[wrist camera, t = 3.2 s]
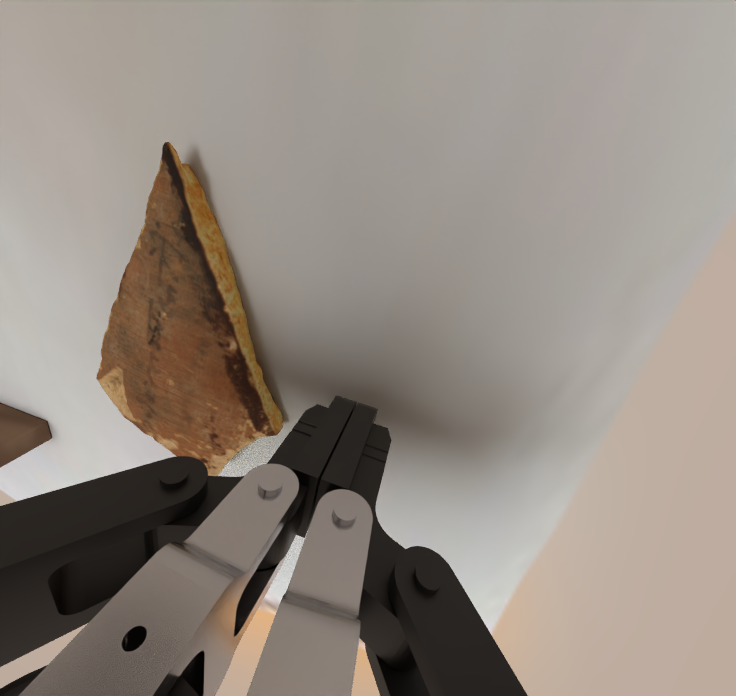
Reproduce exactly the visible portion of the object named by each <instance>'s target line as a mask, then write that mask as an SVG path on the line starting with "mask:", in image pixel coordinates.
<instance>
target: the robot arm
mask: <svg viewBox="0 0 736 696" xmlns="http://www.w3.org/2000/svg"><path fill="white" fill-rule="evenodd" d="M377 410H378V409H376V408H373V407H370V406H367V405H364V404H361V403H357V405H356V402H355V401H352V400H349V399H346V398H343V397H340V396H336V397H335V398H334V400H333V402H332V403H331V405H330V406H329V408H327V407H324V406H321V405H318V404H317V405H315V406H313V407H312V408H310V409H308V410H306V411H305V412H304V414H303V415H302V417H301V418H300V419H299V421H298V423H296V425H295V426H294V427H293V429H292V431H291V432H290V433H289V434H288V436H287V437H286V438H285V440H284V441H283V443H282V444H281V445H280V447H279V448H278V449H277V451H276V452H275V454H274V455H273V456H272V458H271V459H270V460H269V462H268V463H267V464H264V465H260V466H258V467H256V468H254V469H252V470H251V471H249V472H248V473H247V474H246V475H245V476H242V477H222V476H208V470H207V467H206V465H205V464H204V463H203V462H202V461H200V460H199V459H196V458H193V457H188V456H177V457H172V458H167V459H164V460H160V461H157V462H153V463H150V464H146V465H143V466H139V467H136V468H132V469H129V470H125V471H122V472H118V473H115V474H111V475H108V476H104V477H101V478H97V479H94V480H90V481H87V482H83V483H80V484H76V485H73V486H69V487H66V488H62V489H59V490H55V491H52V492H48V493H45V494H41V495H38V496H34V497H31V498H27V499H24V500H20V501H17V502H13V503H10V504H6V505H3V506H0V667H1V666H3V665H5V664H7V663H9V662H11V661H13V660H15V659H17V658H19V657H21V656H23V655H25V654H27V653H29V652H31V651H33V650H35V649H37V648H39V647H41V646H43V645H45V644H47V643H49V642H51V641H53V640H55V639H57V638H59V637H61V636H63V635H65V634H67V633H69V632H71V631H72V630H75V629H77V628H79V627H81V626H82V625H85V624H87V623H88V624H87V625H86V626H85V627H84V628H83V629H82V630H81V631H80V632H79V633H78V634H77V635H76V637H75V638H74V639H73V640H72V641H71V642H70V643H69V644H68V645H67V646H66V647H65V648H64V649H63V650H62V651H61V652H60V653H59V654H58V655H57V656H56V657H55V659H53V660H52V661H51V663H50V664H49V665H47V666H44V667H42V668H40V669H38V670H36V671H33V672H31V673H29V674H27V675H25V676H23V677H21V678H19V679H17V680H15V681H13V682H11V683H10V684H8V685H6V686H4V687H3V688H1V689H0V696H215V694H216V692H217V690H218V689H219V687H220V685H221V683H222V681H223V679H224V677H225V674H226V672H227V670H228V668H229V665H230V663H231V660H232V657H233V655H234V652H235V650H236V648H237V645H238V644H239V642H240V640H241V638H242V636H243V634H244V632H245V631H246V629H247V627H248V625H249V623H250V621H251V620H252V618H253V616H254V615H255V613H256V611H257V609H258V607H259V606H260V604H261V602H262V600H263V598H264V597H265V595H266V593H267V591H268V589H269V588H270V586H271V584H272V582H273V580H274V579H275V577H276V575H277V573H278V572H279V570H280V568H281V566H282V564H283V562H284V560H285V556H286V554H287V552H288V550H289V548H290V546H291V544H292V542H293V540H294V538H295V536H296V535H299V536H301V537H304V538H305V536H306V538H305V541H304V544H303V546H302V549H301V552H300V555H299V558H298V561H297V563H296V566H295V569H294V572H293V575H292V578H291V580H290V583H289V586H288V589H287V591H286V593H285V594H284V596H283V598H282V600H281V602H280V605H279V607H278V610H277V612H276V615H275V618H274V621H273V624H272V626H271V629H270V632H269V635H268V637H267V640H266V643H265V646H264V648H263V651H262V654H261V657H260V660H259V663H258V665H257V668H256V671H255V674H254V676H253V679H252V682H251V685H250V687H249V690H248V693H247V696H351V692H352V685H353V678H354V671H355V664H356V657H357V651H358V644H359V638H360V639H361V640H362V641H363V642H364V643H365V647H366V652H367V656H368V659H369V662H370V665H371V668H372V671H373V674H374V677H375V681H376V684H377V687H378V690H379V693H380V696H527V694H526V692H525V691H524V689H523V687H522V686H521V684H520V682H519V681H518V679H517V677H516V676H515V674H514V672H513V671H512V669H511V667H510V665H509V664H508V662H507V661H506V659H505V657H504V655H503V654H502V652H501V650H500V649H499V647H498V645H497V644H496V642H495V640H494V639H493V637H492V635H491V634H490V632H489V630H488V629H487V627H486V625H485V624H484V622H483V620H482V619H481V617H480V615H479V614H478V612H477V610H476V609H475V607H474V605H473V604H472V602H471V600H470V599H469V597H468V595H467V594H466V592H465V590H464V589H463V587H462V585H461V584H460V582H459V580H458V579H457V577H456V575H455V574H454V572H453V570H452V569H451V567H450V566H449V564H448V563H447V562H446V561H445V560H444V559H443V558H442V557H441V556H440V555H439V554H438V553H436V552H435V551H433V550H431V549H429V548H426V547H421V546H414V547H410V548H408V549H404V548H403V547H402V546H401V545H399V544H398V543H397V542H395V541H394V540H393V539H392V538H391V537H389V536H388V535H387V534H386V533H385V531H384V530H383V529H382V527H381V526H380V524H379V522H378V519H377V517H376V512H375V505H376V500H377V496H378V492H379V488H380V484H381V480H382V476H383V472H384V468H385V463H386V460H387V455H388V451H389V447H390V443H391V438H390V434H389V431H388V428H385V427H382V426H379V425H376V424H374V420H375V417H376V413H377ZM307 531H308V532H307ZM306 533H307V535H306Z"/></svg>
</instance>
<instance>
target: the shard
mask: <svg viewBox="0 0 736 696" xmlns="http://www.w3.org/2000/svg"><path fill="white" fill-rule="evenodd" d="M101 354H102V361H101V364H100V368H99V372H98V374H97V380H98V381H99V382H100V385H101V386H102V388H103V390H104V391H105V392H106V394H107V395H108V396H109V398H110V399H111V400H112V401H113V403H114V404H115V405H116V406H117V408H118V409H119V411H120V412H121V413H122V415H123V416H124V417H125V418H126V419H128V420H129V421H131V422H132V423H133V424H134V425H136V426H137V427H138V428H139V429H140V430H141V431H142V432H143V433H145V434H147V435H149V436H151V437H153V438H154V439H155V440H156V441H157V442H158V443H160V444H162V445H163V446H164V447H165V448H167V449H168V450H169V451H171V452H172V453H173V454H175V455H176V456H188V457H193V458H196V459H199V460H200V461H202V462H203V463H204V464H205V465H206V467H207V470H208V476H217V475H218V474H219V473H220V472H221V471H222V470H223V468H224V466H225V465H226V464H227V463H228V462H229V461H230V460H231V459H232V458H233V457H234V456H235V454H237V453H238V452H239V451H240V450H241V449H242V448H244V447H246V446H248V445H249V444H251V443H252V442H254V441H256V440H257V439H258V438H260V437H264V436H274V435H277V434H278V433H279V432H280V430H281V429H282V427H283V426H282V423H283V418H282V414H281V411H280V410H279V408H278V407H277V406H276V404H275V403H274V401H273V400H272V397H271V393H270V392H269V390H268V388H267V386H266V384H265V383H264V381H263V372H262V369H261V367H260V366H259V365H258V364H257V362H256V356H255V352H254V348H253V344H252V341H251V338H250V336H249V330H248V324H247V318H246V314H245V311H244V308H243V306H242V301H241V297H240V293H239V291H238V289H237V286H236V282H235V276H234V273H233V269H232V267H231V264H230V262H229V258H228V252H227V250H226V247H225V241H224V239H223V237H222V234H221V232H220V229H219V227H218V225H217V221H216V219H215V216H214V215H213V213H212V212H211V210H210V208H209V205H208V203H207V200H206V197H205V193H204V191H203V189H202V187H201V186H200V184H199V182H198V179H197V178H196V176H195V175H194V173H193V172H192V171H191V169H190V167H189V165H188V164H181V161H180V159H179V156H178V154H177V152H176V150H175V149H174V148H173V146H172V145H171V144H170V143H169V142H165V143H164V145H163V153H162V158H161V163H160V169H159V172H158V174H157V176H156V179H155V181H154V186H153V189H152V191H151V194H150V196H149V200H148V203H147V210H146V218H145V224H144V226H143V228H142V230H141V234H140V236H139V238H138V242H137V245H136V246H135V250H134V252H133V254H132V256H131V259H130V262H129V263H128V265H127V266H126V269H125V272H124V274H123V277H122V280H121V283H120V288H119V292H118V297H117V299H116V300H115V302H114V304H113V306H112V309H111V314H110V318H109V324H108V328H107V331H106V332H105V335H104V339H103V346H102V349H101Z"/></svg>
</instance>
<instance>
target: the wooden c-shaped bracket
mask: <svg viewBox="0 0 736 696" xmlns="http://www.w3.org/2000/svg"><path fill="white" fill-rule="evenodd" d="M50 439H51V435H50V431H49V428H48V424H47V421H44V420H41V419H39V418H36V417H34V416H31V415H29V414H26V413H23V412H21V411H18V410H16V409H13V408H11V407H8V406H5V405H3V404H0V467H2V466H4V465H6V464H7V463H9V462H11V461H13V460H14V459H16V458H18V457H20V456H21V455H23V454H25V453H27V452H29V451H30V450H32V449H34V448H36V447H37V446H39V445H41V444H43V443H44V442H46V441H48V440H50Z"/></svg>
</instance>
